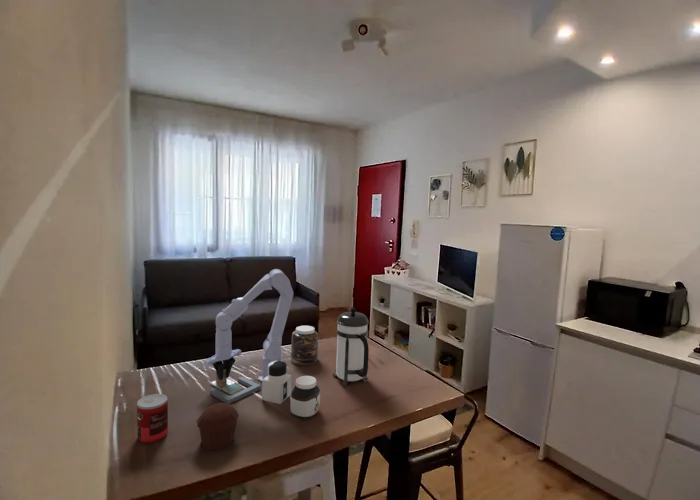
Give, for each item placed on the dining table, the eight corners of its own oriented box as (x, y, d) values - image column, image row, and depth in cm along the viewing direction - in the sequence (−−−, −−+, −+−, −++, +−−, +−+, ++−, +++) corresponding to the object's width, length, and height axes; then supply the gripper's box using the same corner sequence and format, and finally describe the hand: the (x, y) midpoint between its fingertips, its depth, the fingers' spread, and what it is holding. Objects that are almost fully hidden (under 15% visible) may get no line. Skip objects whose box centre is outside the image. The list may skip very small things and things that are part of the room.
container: (291, 394, 130) (292, 360, 129) (280, 404, 123) (281, 369, 121) (273, 390, 132) (273, 357, 131) (261, 400, 125) (262, 365, 124)
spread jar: (305, 424, 112) (306, 389, 111) (278, 413, 117) (278, 380, 116) (326, 407, 122) (327, 375, 121) (300, 398, 128) (300, 367, 127)
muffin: (217, 457, 95) (218, 423, 94) (187, 446, 100) (187, 412, 99) (246, 433, 106) (247, 402, 105) (218, 423, 111) (218, 393, 110)
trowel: (224, 378, 140) (224, 363, 139) (235, 384, 136) (235, 368, 135) (210, 384, 135) (210, 368, 134) (221, 390, 131) (221, 373, 130)
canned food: (145, 427, 107) (144, 393, 106) (172, 427, 108) (172, 393, 107) (131, 444, 99) (131, 407, 98) (161, 443, 100) (160, 407, 99)
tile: (242, 390, 132) (242, 387, 132) (230, 395, 128) (230, 392, 128) (234, 386, 135) (234, 382, 135) (222, 391, 131) (222, 387, 131)
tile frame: (260, 389, 133) (260, 385, 133) (228, 404, 122) (228, 400, 121) (242, 380, 139) (242, 376, 139) (210, 393, 128) (210, 389, 128)
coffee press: (324, 383, 139) (327, 309, 136) (340, 368, 154) (343, 301, 151) (366, 393, 133) (369, 316, 130) (378, 376, 147) (382, 306, 144)
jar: (310, 353, 168) (311, 323, 167) (321, 362, 158) (322, 330, 157) (287, 357, 162) (288, 326, 161) (297, 367, 152) (297, 334, 151)
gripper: (233, 336, 141) (233, 368, 143) (199, 346, 130) (200, 381, 131) (244, 340, 137) (244, 373, 139) (210, 351, 126) (210, 387, 127)
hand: (223, 378), depth 135 cm, fingers closed on trowel
